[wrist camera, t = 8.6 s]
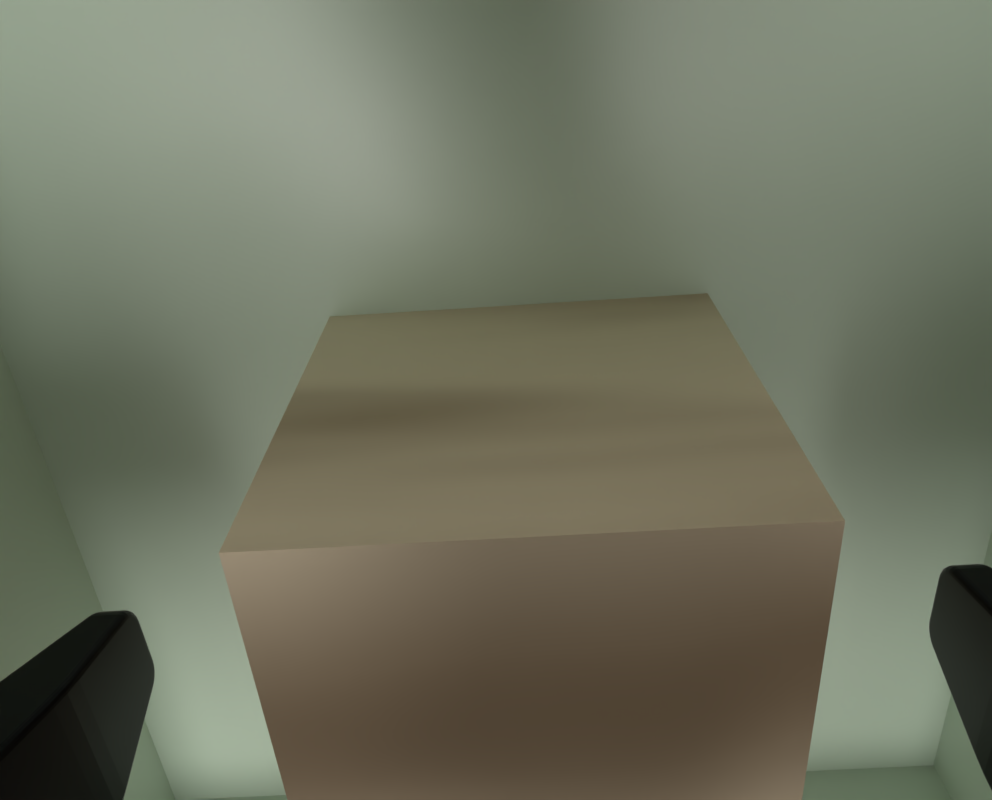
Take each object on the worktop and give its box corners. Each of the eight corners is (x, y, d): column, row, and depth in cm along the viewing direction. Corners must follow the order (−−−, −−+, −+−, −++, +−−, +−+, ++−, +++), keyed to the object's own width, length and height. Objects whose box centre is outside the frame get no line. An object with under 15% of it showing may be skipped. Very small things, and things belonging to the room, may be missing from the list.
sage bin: (949, 756, 16) (1093, 1014, 12) (160, 792, 17) (56, 1050, 13) (1207, -238, 9) (1765, -388, 5) (-197, -111, 10) (-685, -153, 6)
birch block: (691, 589, 13) (785, 903, 9) (379, 604, 14) (321, 919, 9) (707, 293, 11) (844, 520, 7) (329, 316, 11) (218, 553, 7)
